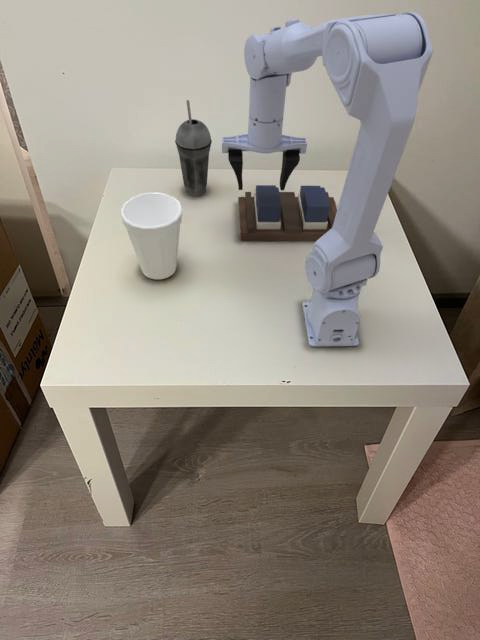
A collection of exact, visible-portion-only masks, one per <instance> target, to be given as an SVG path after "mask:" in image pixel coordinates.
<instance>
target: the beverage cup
mask: <svg viewBox="0 0 480 640" xmlns="http://www.w3.org/2000/svg"><path fill="white" fill-rule="evenodd" d="M186 107H187V108H186V109H187V117H188V119H187V120H185V121H183V122H182V123H181V124H180V125H179V126H178V128H177V130H176V134H175V140H174V142H175V143H174V144H175V145H176V146H175V147H176V148H177V152H178V157H179V162H180V170H181V175H182V181H183V186H184V191H185V192H184V193H185V194H186V195H187V196H189V197H192V198H199V197H202V196H205V194H206V193H207V186H208V175H209V174H208V173H209V162H210V161H209V159H210V152H211V146H212V143H213V140H212V136H211V133H210V130H209V128H208V126H206V124H205V123H204V122H203V121H201V120H198V119H193V118H192V113H191V105H190V100H189V99H186Z"/></svg>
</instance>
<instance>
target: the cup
mask: <svg viewBox="0 0 480 640" xmlns="http://www.w3.org/2000/svg"><path fill="white" fill-rule="evenodd" d="M182 217H183V205H182V203H181V202H180V201H179V199H178V198H175V197H174V196H172V195H171V194H168V193H164V192H160V191H158V192H153V191H152V192H143V193H140V194H136V195H134V196H132V197H130V198H129V199H127V200H126V201H125V202H124V204H123V205H122V206H121V209H120V218H121V220H122V223H123V225H124V227H125V229H126V232H127V234H128V237H129V240H130V242H131V245H132V248H133V250H134V253H135V255H136V259H137V261H138V264H139V267H140V270H141V272H142V273H143V275H144V276H145V277H147V278H148V279H152V280H164V279H167V278H168V279H169V277H171V276H173V275H174V273H176V270H177V264H178V253H179V241H180V230H181V223H182Z"/></svg>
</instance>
